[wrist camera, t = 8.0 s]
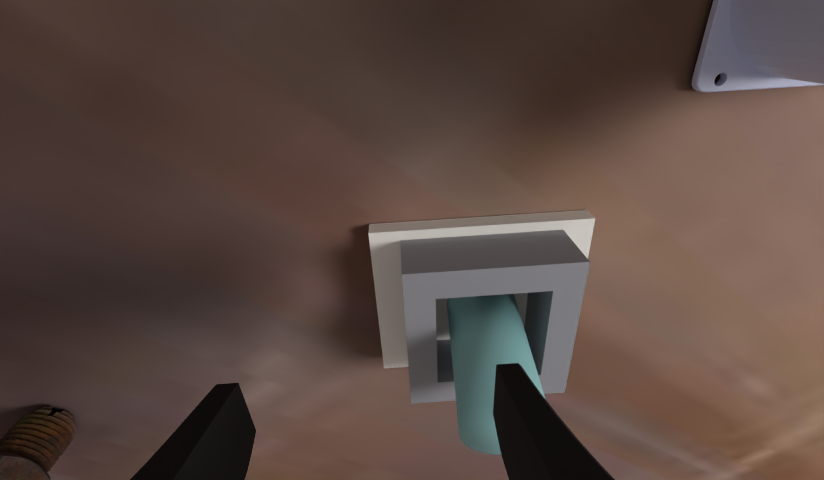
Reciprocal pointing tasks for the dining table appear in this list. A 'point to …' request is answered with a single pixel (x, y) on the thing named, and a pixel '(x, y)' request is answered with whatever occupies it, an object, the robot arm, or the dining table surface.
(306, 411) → the dining table surface
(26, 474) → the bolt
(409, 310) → the socket block
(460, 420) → the dowel
